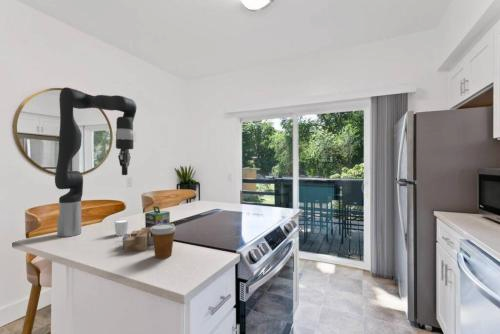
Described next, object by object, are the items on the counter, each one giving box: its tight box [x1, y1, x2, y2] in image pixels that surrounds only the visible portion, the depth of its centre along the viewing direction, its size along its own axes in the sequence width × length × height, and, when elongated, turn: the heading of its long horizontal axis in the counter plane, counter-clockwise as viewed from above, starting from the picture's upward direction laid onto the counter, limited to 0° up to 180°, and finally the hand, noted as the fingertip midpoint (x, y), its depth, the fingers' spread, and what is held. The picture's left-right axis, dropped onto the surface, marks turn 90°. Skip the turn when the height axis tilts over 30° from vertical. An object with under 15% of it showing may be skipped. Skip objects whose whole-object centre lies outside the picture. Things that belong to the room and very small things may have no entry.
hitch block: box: [124, 227, 152, 253], centre depth 108 cm, size 8×15×6 cm, turn 15°
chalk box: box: [144, 205, 171, 237], centre depth 127 cm, size 9×9×15 cm
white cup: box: [114, 219, 130, 237], centre depth 125 cm, size 7×7×7 cm
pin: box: [122, 233, 154, 250], centre depth 108 cm, size 13×6×5 cm, turn 108°
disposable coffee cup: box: [151, 223, 176, 260], centre depth 96 cm, size 10×10×12 cm
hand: (124, 175), depth 114 cm, fingers closed
